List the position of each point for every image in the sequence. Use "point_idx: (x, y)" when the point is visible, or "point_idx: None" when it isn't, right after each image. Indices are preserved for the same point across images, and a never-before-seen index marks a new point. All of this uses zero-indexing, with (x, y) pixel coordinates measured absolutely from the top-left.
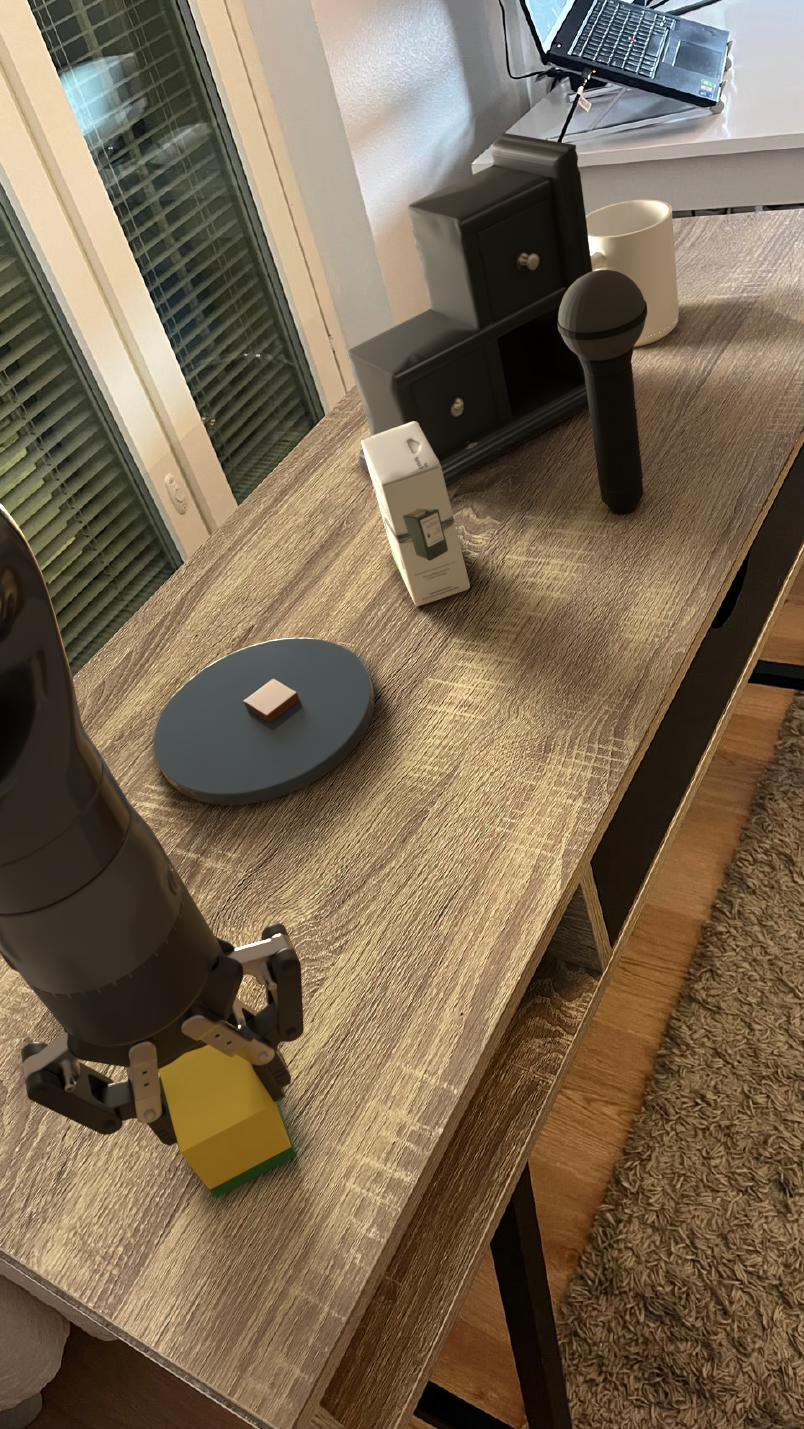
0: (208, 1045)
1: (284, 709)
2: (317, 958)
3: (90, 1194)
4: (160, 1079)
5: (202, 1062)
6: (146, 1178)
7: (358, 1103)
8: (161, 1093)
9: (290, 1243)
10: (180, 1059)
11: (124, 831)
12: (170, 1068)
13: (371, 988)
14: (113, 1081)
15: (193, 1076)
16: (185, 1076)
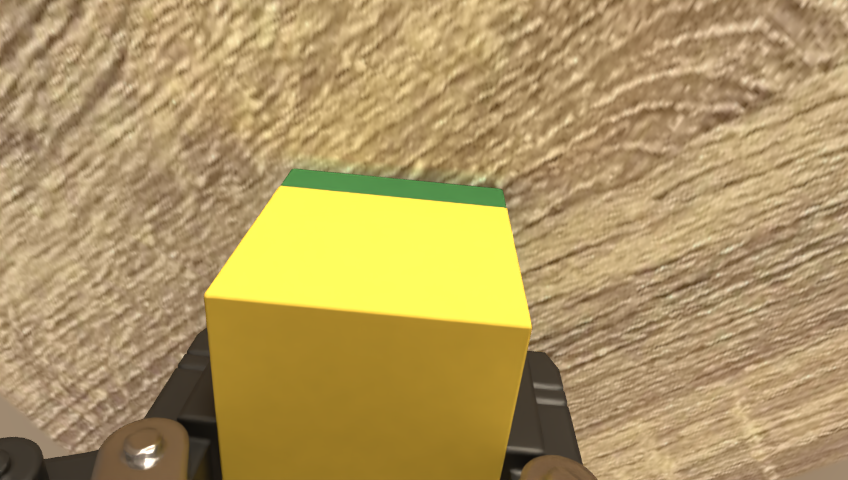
0: (396, 426)
1: None
2: (809, 11)
3: (35, 273)
4: (216, 427)
5: (358, 463)
6: (164, 309)
7: (617, 413)
8: (211, 469)
9: None
10: (294, 415)
11: None
12: (254, 425)
13: (838, 208)
14: (37, 475)
15: (318, 476)
16: (295, 465)
